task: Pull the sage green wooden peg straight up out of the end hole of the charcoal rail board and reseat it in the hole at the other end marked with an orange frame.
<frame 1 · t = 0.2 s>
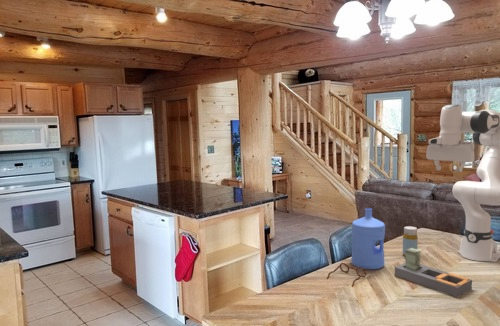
hand: (448, 170, 176), 47 cm above the table, tool pointing down, fingers open, 8 cm apart
peg: (412, 275, 176), resting in rail board
glasses: (346, 279, 175), on the table
lidded canister: (409, 256, 202), on the table
water jug: (367, 264, 192), on the table
rail board: (431, 282, 169), on the table
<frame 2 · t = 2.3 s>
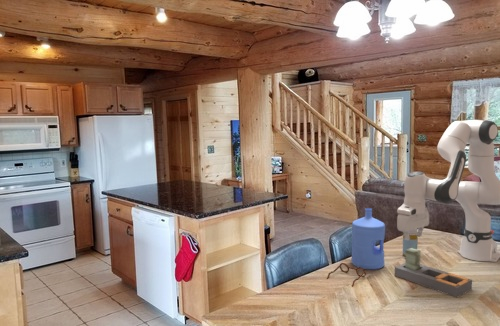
hand: (413, 238, 174), 18 cm above the table, tool pointing down, fingers open, 8 cm apart
nothing on the table moved.
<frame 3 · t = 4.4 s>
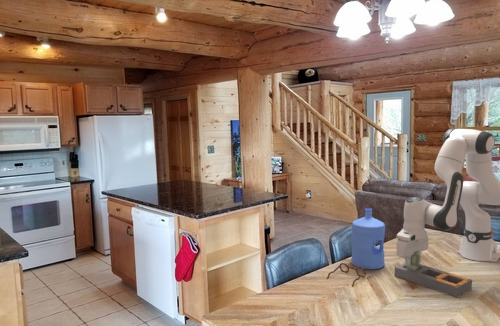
hand: (412, 262, 176), 6 cm above the table, tool pointing down, fingers closed on peg, 4 cm apart
peg: (412, 275, 176), resting in rail board, touching gripper
everything else where it was.
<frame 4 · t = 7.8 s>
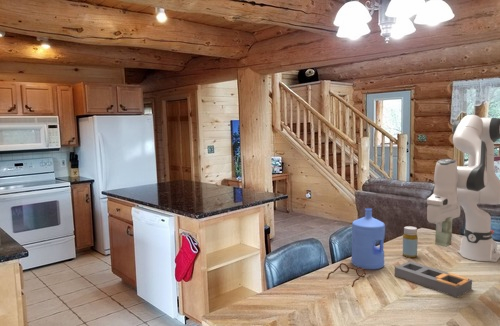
hand: (443, 230, 163), 24 cm above the table, tool pointing down, fingers closed on peg, 4 cm apart
peg: (443, 244, 163), point 18 cm above the table, touching gripper
everything else where it was.
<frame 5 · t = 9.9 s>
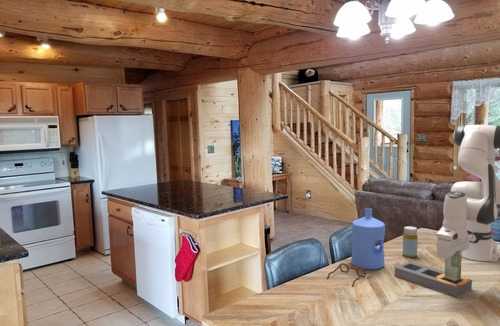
hand: (453, 263, 161), 11 cm above the table, tool pointing down, fingers closed on peg, 4 cm apart
peg: (452, 277, 161), point 5 cm above the table, touching gripper
everything else where it was.
when the fingers open (7 cm above the table, at t = 11.4 s): peg stays where it is, resting in rail board.
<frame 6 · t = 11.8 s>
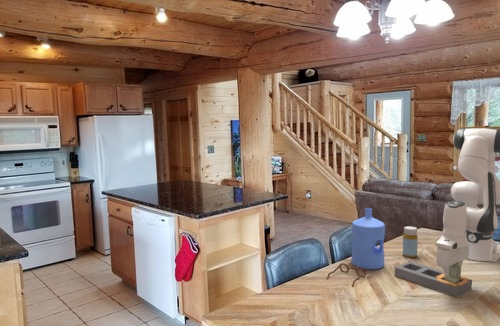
hand: (452, 272, 161), 7 cm above the table, tool pointing down, fingers open, 8 cm apart
peg: (452, 288, 162), resting in rail board
everything else where it was.
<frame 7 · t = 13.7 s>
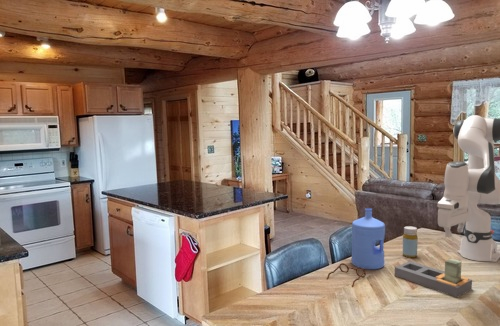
hand: (454, 234, 160), 24 cm above the table, tool pointing down, fingers open, 8 cm apart
nothing on the table moved.
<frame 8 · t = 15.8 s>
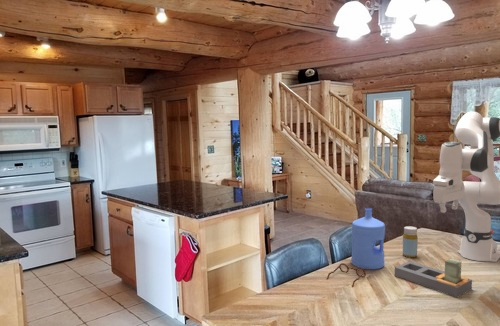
hand: (449, 210, 169), 31 cm above the table, tool pointing down, fingers open, 8 cm apart
nothing on the table moved.
at the end: peg 0.1 cm from the target spot on the rail board, point 0.0 cm above the rail board's base; peg tilted 0°; the gripper is holding nothing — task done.
